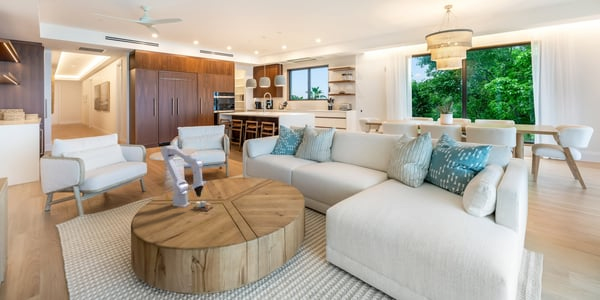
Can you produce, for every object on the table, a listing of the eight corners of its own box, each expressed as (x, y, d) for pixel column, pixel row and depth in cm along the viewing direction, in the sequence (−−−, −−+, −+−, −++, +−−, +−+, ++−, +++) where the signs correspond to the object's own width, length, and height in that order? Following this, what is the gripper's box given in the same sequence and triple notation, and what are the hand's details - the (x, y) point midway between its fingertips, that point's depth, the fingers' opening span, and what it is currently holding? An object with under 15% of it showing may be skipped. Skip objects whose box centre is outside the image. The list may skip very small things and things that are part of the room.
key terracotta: (204, 208, 205) (204, 204, 204) (207, 206, 208) (207, 202, 207) (208, 208, 204) (208, 204, 204) (210, 207, 207) (210, 203, 206)
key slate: (200, 206, 206) (200, 202, 205) (202, 204, 209) (202, 200, 208) (203, 206, 205) (203, 202, 205) (206, 205, 208) (206, 201, 207)
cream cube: (195, 206, 207) (195, 202, 207) (198, 205, 210) (198, 201, 209) (199, 207, 206) (199, 203, 206) (201, 205, 209) (201, 201, 208)
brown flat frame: (193, 209, 206) (193, 207, 206) (199, 205, 212) (199, 204, 212) (207, 211, 202) (207, 209, 202) (213, 207, 209) (213, 206, 208)
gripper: (196, 181, 196) (197, 200, 199) (209, 175, 210) (209, 193, 212) (187, 180, 198) (188, 199, 201) (200, 174, 212) (201, 192, 214)
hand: (198, 196), depth 207 cm, fingers closed
